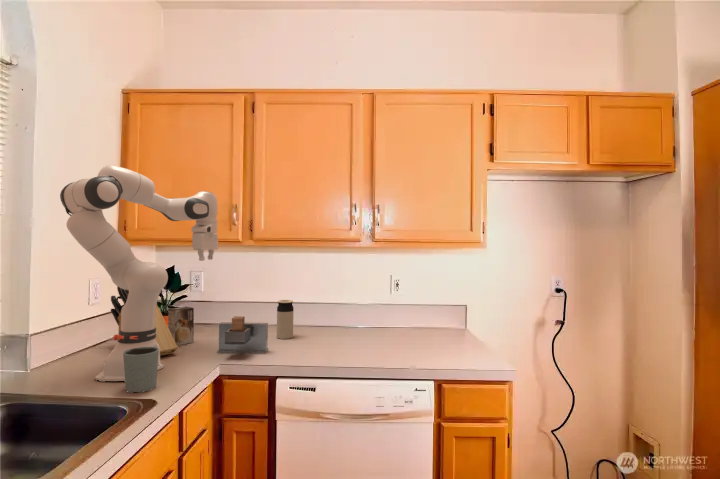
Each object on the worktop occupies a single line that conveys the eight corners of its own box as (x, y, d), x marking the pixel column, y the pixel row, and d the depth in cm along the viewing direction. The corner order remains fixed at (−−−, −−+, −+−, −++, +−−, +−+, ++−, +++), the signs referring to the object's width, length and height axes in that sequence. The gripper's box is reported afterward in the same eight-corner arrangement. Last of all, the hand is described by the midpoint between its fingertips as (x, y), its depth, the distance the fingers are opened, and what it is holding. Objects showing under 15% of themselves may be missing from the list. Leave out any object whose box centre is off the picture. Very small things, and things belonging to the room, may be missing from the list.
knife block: (133, 342, 185) (134, 274, 185) (178, 354, 165) (179, 279, 166) (106, 347, 175) (108, 276, 175) (151, 361, 156) (153, 281, 156)
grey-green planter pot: (138, 396, 121) (138, 356, 121) (114, 391, 125) (115, 352, 125) (165, 385, 131) (166, 348, 131) (142, 380, 135) (143, 344, 135)
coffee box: (186, 340, 189) (187, 306, 190) (193, 342, 186) (194, 307, 186) (167, 344, 182) (167, 308, 182) (174, 346, 178) (175, 310, 178)
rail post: (241, 340, 162) (241, 318, 162) (231, 340, 162) (231, 318, 162) (244, 338, 166) (244, 316, 166) (234, 338, 166) (234, 316, 166)
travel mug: (277, 339, 193) (277, 302, 193) (275, 336, 201) (276, 299, 201) (293, 338, 195) (294, 301, 195) (292, 335, 203) (292, 299, 203)
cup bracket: (259, 359, 160) (260, 329, 160) (209, 359, 160) (209, 328, 160) (268, 349, 175) (268, 322, 175) (222, 349, 175) (222, 321, 175)
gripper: (208, 229, 188) (208, 258, 188) (189, 227, 167) (189, 261, 167) (222, 229, 188) (221, 259, 188) (204, 228, 167) (204, 261, 167)
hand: (206, 260), depth 177 cm, fingers open, 8 cm apart
